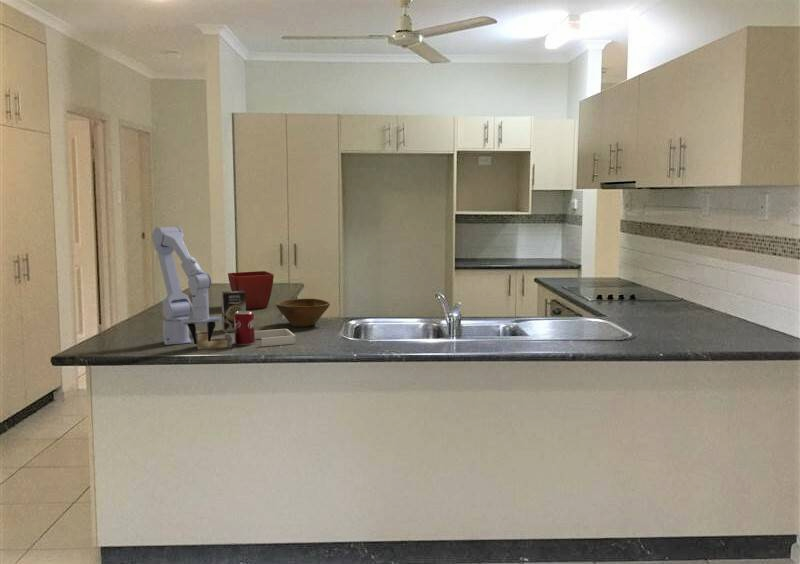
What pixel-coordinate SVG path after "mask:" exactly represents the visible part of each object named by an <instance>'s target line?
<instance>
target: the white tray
mask: <svg viewBox="0 0 800 564" xmlns="http://www.w3.org/2000/svg"><path fill="white" fill-rule="evenodd" d="M254 334H255V340H259V339H260V340H261V342H260V343H261V347H271V346H286V345H294V344H295V345H296V344H297V336H296V335H295V334H294V333H293V332H292V331H290V330H289V329H288V328H279V329H265V330H254Z"/></svg>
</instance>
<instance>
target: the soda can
mask: <svg viewBox="0 0 800 564" xmlns="http://www.w3.org/2000/svg"><path fill="white" fill-rule="evenodd" d="M234 330H235V331H234V343H235V345H236V346H250V345H253V344H255V342H256V341H255V340H256V339H255V333H254V331H255V313H254V312H253V311H250V310H246V311H238V312H235V314H234Z"/></svg>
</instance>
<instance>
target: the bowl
mask: <svg viewBox="0 0 800 564" xmlns="http://www.w3.org/2000/svg"><path fill="white" fill-rule="evenodd" d="M330 305H331V303H330V301H327V300H324V299H320V298H319V299H318V298H292V299H291V298H290V299H284V300H281V301H277V302H276V303H275V306H276V308H277V310H279V312H280V313H281V314H282V316H283V317H284V318H285V319H286V321H288V322H289V323H290V325H291V326H293V327H301V328H302V327H304V328H305V326H306V327H311V325H312V326H315V324H317V323H318V321H319V320H320V319H321V317H322V316H323V315H324V313H326V312H327V310H328V309H329V307H330Z"/></svg>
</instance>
